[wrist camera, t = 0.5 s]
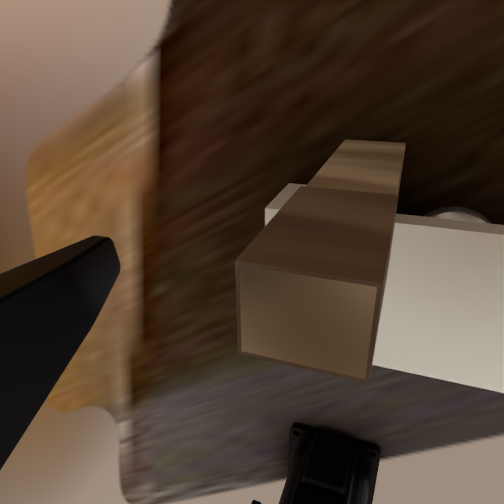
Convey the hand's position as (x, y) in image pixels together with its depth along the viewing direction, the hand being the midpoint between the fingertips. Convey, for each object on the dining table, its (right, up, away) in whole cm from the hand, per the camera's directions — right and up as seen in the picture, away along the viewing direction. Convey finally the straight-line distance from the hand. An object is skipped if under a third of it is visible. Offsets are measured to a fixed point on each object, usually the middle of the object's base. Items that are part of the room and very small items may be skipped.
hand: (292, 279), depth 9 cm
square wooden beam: (+8, +2, +14) cm, 16 cm away
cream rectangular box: (+8, 0, +15) cm, 17 cm away
